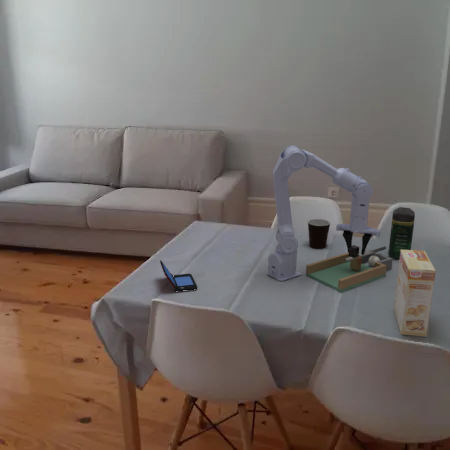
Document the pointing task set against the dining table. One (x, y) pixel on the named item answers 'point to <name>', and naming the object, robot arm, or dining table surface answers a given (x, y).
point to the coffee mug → (318, 233)
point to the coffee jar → (401, 231)
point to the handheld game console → (180, 280)
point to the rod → (359, 256)
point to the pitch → (347, 271)
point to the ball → (373, 260)
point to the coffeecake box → (414, 292)
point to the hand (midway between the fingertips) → (356, 252)
